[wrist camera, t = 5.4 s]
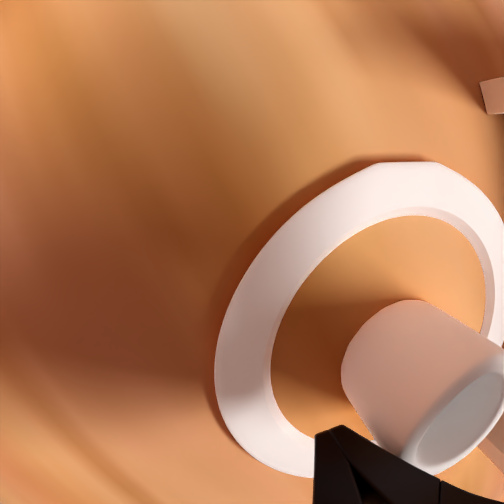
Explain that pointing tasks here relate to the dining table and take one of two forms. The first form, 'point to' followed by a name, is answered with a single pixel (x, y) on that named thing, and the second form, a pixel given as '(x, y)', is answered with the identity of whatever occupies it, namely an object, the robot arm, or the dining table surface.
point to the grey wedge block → (500, 437)
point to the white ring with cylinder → (373, 329)
